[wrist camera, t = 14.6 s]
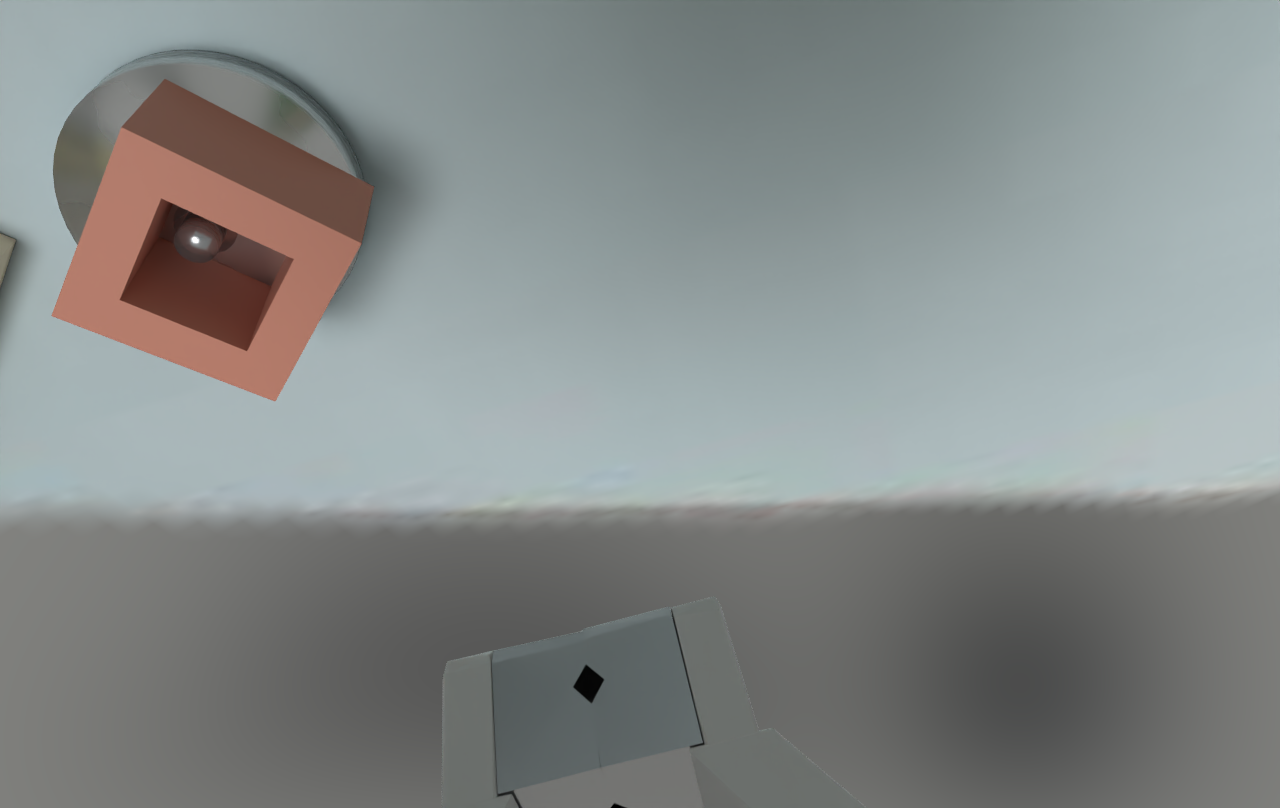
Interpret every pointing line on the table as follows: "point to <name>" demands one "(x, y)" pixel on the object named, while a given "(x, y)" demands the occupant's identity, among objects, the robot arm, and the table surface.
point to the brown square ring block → (210, 292)
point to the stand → (5, 253)
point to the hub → (222, 84)
